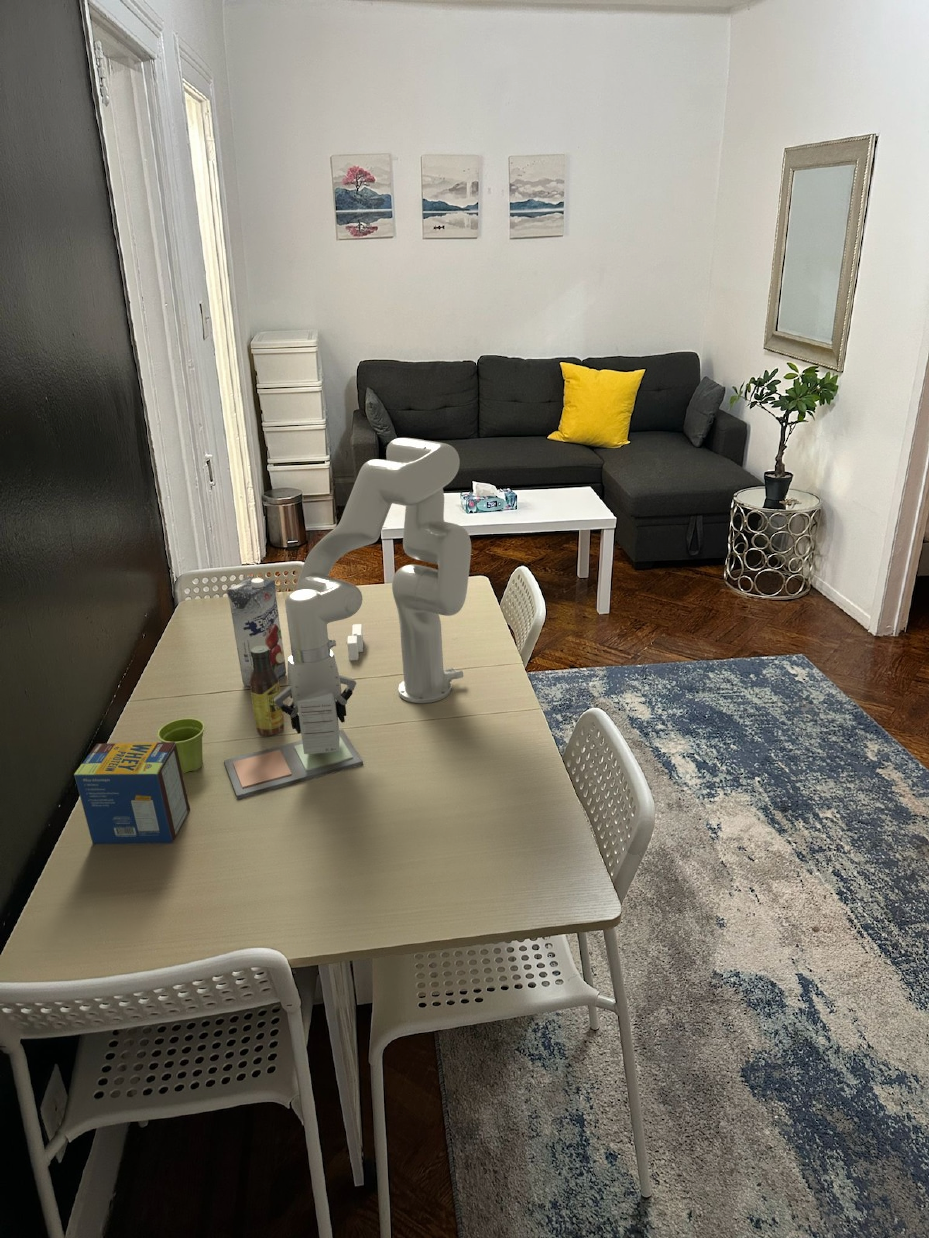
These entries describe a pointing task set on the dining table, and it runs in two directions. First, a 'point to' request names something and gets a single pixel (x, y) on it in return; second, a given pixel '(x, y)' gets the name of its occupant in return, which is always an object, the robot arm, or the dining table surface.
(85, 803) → the protein box
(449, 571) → the robot arm
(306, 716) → the supplement box
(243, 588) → the juice carton
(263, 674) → the sauce bottle
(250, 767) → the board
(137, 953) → the dining table surface
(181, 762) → the plant pot
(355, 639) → the napkin holder
